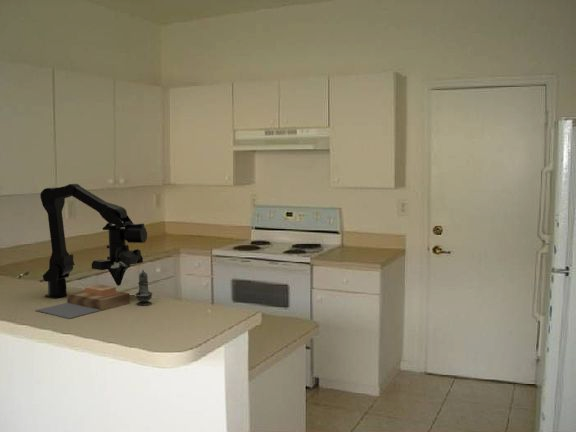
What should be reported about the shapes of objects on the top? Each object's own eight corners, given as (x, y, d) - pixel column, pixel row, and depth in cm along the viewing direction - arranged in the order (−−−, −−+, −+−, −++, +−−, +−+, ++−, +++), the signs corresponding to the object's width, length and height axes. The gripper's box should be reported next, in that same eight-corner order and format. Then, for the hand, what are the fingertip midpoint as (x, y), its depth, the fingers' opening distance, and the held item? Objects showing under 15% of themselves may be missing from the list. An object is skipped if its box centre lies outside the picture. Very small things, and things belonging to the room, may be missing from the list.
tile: (85, 292, 201) (84, 287, 201) (99, 289, 206) (99, 284, 206) (101, 296, 196) (101, 290, 196) (116, 292, 201) (115, 287, 201)
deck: (67, 303, 201) (67, 293, 201) (96, 296, 211) (95, 287, 211) (101, 310, 191) (100, 300, 191) (129, 303, 201) (129, 293, 201)
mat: (35, 311, 191) (35, 310, 191) (67, 303, 201) (67, 302, 201) (69, 319, 181) (69, 318, 181) (101, 310, 191) (101, 309, 191)
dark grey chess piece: (155, 302, 202) (154, 268, 201) (149, 306, 197) (148, 271, 195) (138, 301, 203) (137, 268, 202) (132, 305, 197) (131, 271, 196)
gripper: (111, 247, 194) (112, 293, 196) (152, 241, 210) (153, 283, 211) (89, 244, 200) (91, 289, 202) (131, 238, 216) (133, 280, 217)
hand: (118, 285), depth 208 cm, fingers closed
